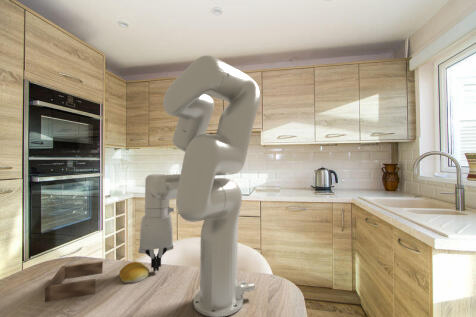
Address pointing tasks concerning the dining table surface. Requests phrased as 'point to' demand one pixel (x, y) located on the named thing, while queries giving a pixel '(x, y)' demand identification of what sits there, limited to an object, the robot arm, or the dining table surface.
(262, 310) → the dining table surface
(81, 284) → the brown u-shaped frame
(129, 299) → the dining table surface
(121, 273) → the bread roll
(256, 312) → the dining table surface
